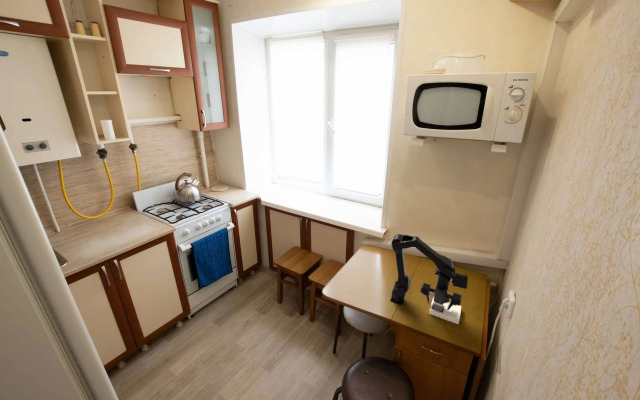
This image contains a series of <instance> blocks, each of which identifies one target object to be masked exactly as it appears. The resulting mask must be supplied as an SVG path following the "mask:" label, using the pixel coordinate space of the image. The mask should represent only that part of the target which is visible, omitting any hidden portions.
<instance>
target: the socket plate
mask: <svg viewBox="0 0 640 400" xmlns="http://www.w3.org/2000/svg"><path fill="white" fill-rule="evenodd" d="M430 303H431V304H430V306H429V311H428V315H431V316H434V317H437V318H440V319H442V320H445V321H448V322H450V323H454V324H457V325H459V322H460V319H461V311H462V305H459V306H458V305H456V306H455V305H453V306H452V307H451V308H450V309H449V310H447V309H448V305H449V303H450V301H449V303H444V304H443V307H442V312H439V311H436V310H433V307H434V296H433V297H432V300H431V302H430Z"/></svg>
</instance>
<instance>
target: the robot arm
mask: <svg viewBox="0 0 640 400" xmlns="http://www.w3.org/2000/svg"><path fill="white" fill-rule="evenodd" d="M390 245H391V248H392V251H393V252H394V255H395V261H396V270H397V281H394V285H393V286H392V291H391V297H390V300H389V301H390V302H392V303H395V304H397V305H400V306H403V304H404V303H405V302H406V301H405V300H406V293H408V291H409V290H410V287H411V283H412V282H411V281H412V280H411V276H410V275H408V274H407V269H406V261H405V252H404V250H405V249H410V248H415V249H416V250H418V251H419V253H422V254H423V255H424V256H425V257H426V258H427V259H429V260H431V262H433V264H434V265H435V266H436V268H435V269H434V275H437V278H436V279H437V280H436V284H435V288H432V287H431V286H432V285H431V284H429V283H425V282H424V283H422V285H421V288H420V293H421V294H422V295H424V296H426V300H427V304H428V305H429V304H430V303H431V302H430V301H431V295H432V294H434V295H433V297H434V302H437V303H440V304H444V303H449V302H450V303H449V305H448V309H447V310H449V309H450V308H451V307H452V306H453V305H455V306H456V305H458V306H461V302H462V296H463V295H462V294H459V293H456V292H453V293H449V288H450V283H451V285H452V286H453V287H456V288H460V289H463V290H467V289H468V280H469V275H467V274H461V273H457V271H456V268H455V266H454V262H453V260H452V259H450V258H448V257H447V256H445V255H441V253H439V252H437V251H435V249H433V248H432V247H430V245H428V244H427V243H426V242H424V241H423V240H422V239H420V237H419V236H418V235H417V236H416V235H414V236H412V235H409V234H400V233H397V234H395V235H394V236H393V238H392V241H391V244H390Z"/></svg>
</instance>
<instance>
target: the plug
mask: <svg viewBox="0 0 640 400" xmlns="http://www.w3.org/2000/svg"><path fill="white" fill-rule="evenodd" d="M442 307H443V304H440V303H437V302H434V307H433V310H436V311H439V312H442Z"/></svg>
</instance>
